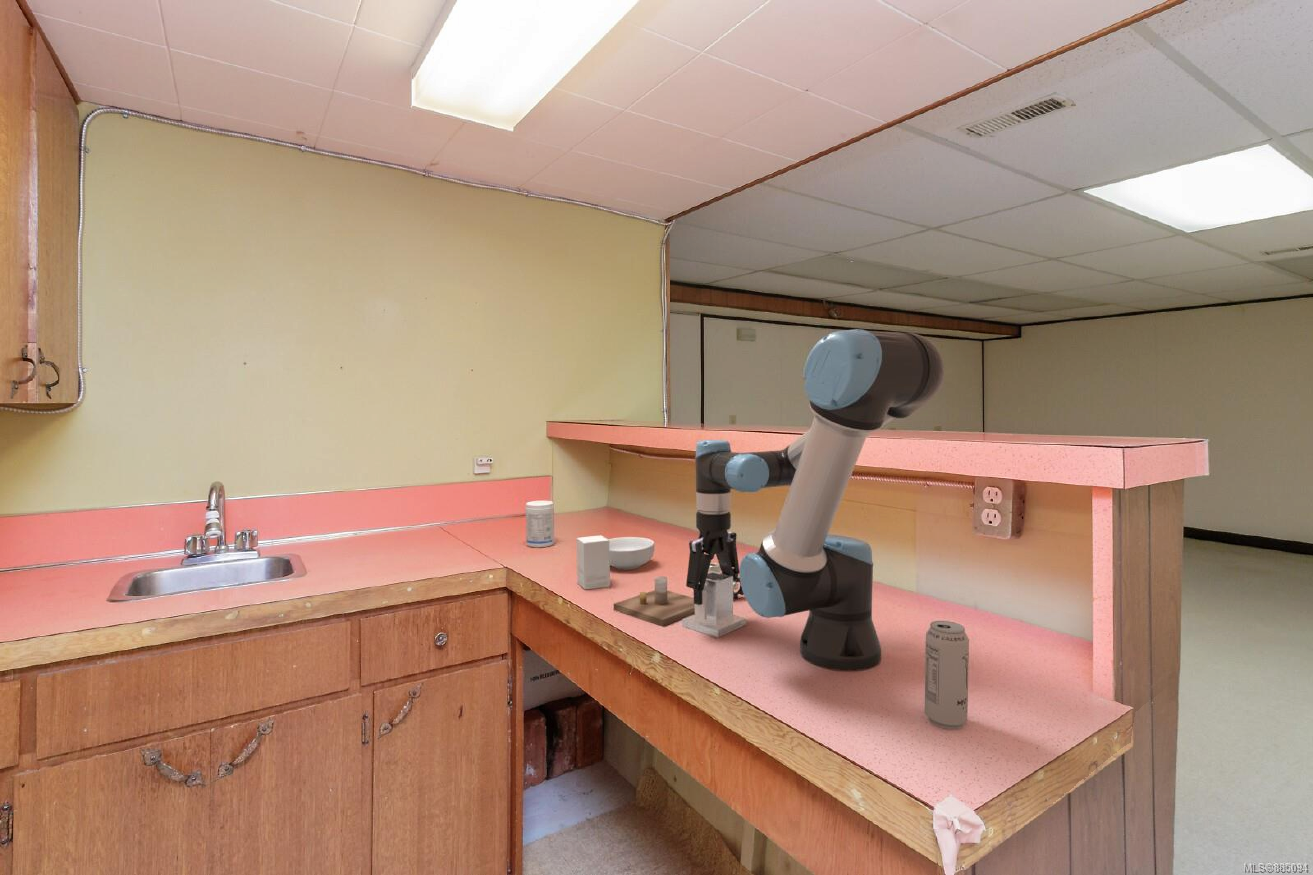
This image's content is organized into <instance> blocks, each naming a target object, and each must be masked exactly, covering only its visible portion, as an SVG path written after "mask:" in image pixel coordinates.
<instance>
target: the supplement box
mask: <svg viewBox="0 0 1313 875" xmlns="http://www.w3.org/2000/svg"><path fill="white" fill-rule="evenodd" d="M576 568H577V569H576V571H577V580H576V581H577V584H579V586H580V587H581V586H582V589H583V590H585V591H586V589H587V590H594V589H600V588H601V589H603V588H609V586H610V587H611V565H610V553H609V540H608V538H606V537H605V536H603V535H601V534H600V535H592V536H591V535H590V536H583V537H576Z"/></svg>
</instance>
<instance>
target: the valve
mask: <svg viewBox="0 0 1313 875" xmlns="http://www.w3.org/2000/svg"><path fill="white" fill-rule="evenodd" d="M710 571H714V572H718V573H721V572H722V571H721V568H720V565H719V562H711V563H710V567H709V570H708V572H710ZM736 576H737V579H736V580H733V600H738V599H739V595H741V596H744V594H743V591H742V587H741V583H740V577H739V574H738V575H736ZM739 584H740V585H739ZM735 591H736V592H735Z"/></svg>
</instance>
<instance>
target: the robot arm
mask: <svg viewBox="0 0 1313 875" xmlns="http://www.w3.org/2000/svg"><path fill="white" fill-rule="evenodd" d="M806 358H807V359H806V361H805V363H804V368H803V380H805V383H804V384H803V386H804V390H805V393H806V396H807V397H808V399H809V403H808V406H809V409H810V410H811V412H812V414H813V415H814V417H813V420H812V424H811V426H810V429H808V430H807V431H806V432H804V433H803V434H802V435H801V436H798V437H797V439H795V440H794V441H793V442H791V443H790V444H789V445H787V446H786V447H785V448H783V449H780V450H767V451H751V452H749V451H748V452H735V451H732V449H731V444H730V442H729V441H728V440H724V439H704V440H700V441H698V442H697V443H696V446H695V447H696V448H695V458H694V461H695V494H696V504H695V506H696V507H695V508H696V510H697V512H696V513H695V524H696V525H695V526H696V529H698V531H699V535H698V539H696V540H690V541H689V542H688V547H689V557H688V567H687V574H686V585H685V586H686V588H690V589H693V598H694V604H695V614H694V615H695V617H696V618H699V619H702V620H706V619H707V589H704V586H705V582H706V578H707V574H708V570H709V567H710V563H712V560H714V558H715V555H716V559H717V561H718V562H717V563H718V564H719V565H720V568H721V571H720V572H721V573H722V574H726V575H731V576H733V580H736V579H737V576H736V575H738V577H739V578H740V582H739V584H740V583H741V587H742V591H743V594H744V595H743V596H744V598H745V600H746V602H747V604H748V605H749V607H750V608H751V609H752V610H753V612H754V613H756V614H757V615H758V616H760V617H762V618H767V619H768V618H781V617H782V618H783V617H786V616H789V615H795V614H800V613H804V612H808V616H807V619H806V621H805V625H804V627H803V630H802V634H801V637H800V639H799V640H800V641H799V652H800V655H801V656H802V657H803V659H805V660H806V661H808V662H810V663H811V664H813V665H815V666H816V665H817V667H823V668H826V669H829V670H830V669H831V670H835V671H845V672H846V671H850V672H853V671H864V670H869V669H872V668H875V667H876V666H878V665H879V664H880V663H881V660H882V646H881V643H880V640H879V637H878V634H877V633H878V632H877V631H876V627H875V624H874V622H873V614H872V613H873V609H872V608H873V577H874V576H873V575H874V572H873V571H874V570H873V568H874V562H873V550H872V548H871V545H870V544H869V543H868V542H866V541H864V540H862V539H858V538H856V537H850V536H844V535H838V534H831V533H830V534H829V532H830V529H831V527H832V524H833V522H834V520H835V517H836V515H837V512H838V509H839V507H840V505H841V503H842V502H841V501H842V499H843V497H844V495H845V492H846V489H847V487H848V484H849V482H850V479H851V476H852V474H853V471H854V469H855V467H856V464H857V461H858V459H859V457H860V454H861V452H862V450H863V448H864V447H863V446H864V445H865V441H866V439H867V437H869V436H870V435H872V433H874V432H876V431H879V430H880V429H881V428H882V427H884V426H885V425H886V424H888V423H890V422H891V421H892V420H893V419H895V420H902V419H906V418H908V417H909V416H911V415H912V414H914V413H915V412H918V410H919V409H921V408H922V407H924V406H926V405H927V404H928V403H929V402H930V401H932V400H933V399H934V397H935V396H936V395H937V394H938V392H939V391H940V389H941V387H942V385H943V381H944V378H945V364H944V358H943V356H942V353H941V351H940V350H939V349H938V347H937V346H936V345H935V344H934V343H933V342H932V341H931V340H930V339H928V338H926V337H925V336H922V335H920V334H918V333H914V332H904V331H902V332H896V331H877V330H873V331H872V330H865V329H859V328H855V329H849V330H848V329H847V330H838V331H834V332H833V331H832V332H831V333H829V334H828V335H825V336H824V337H822V338H821V339H819V341H817V342H816V344H815V345H814V346H813V348H812V349H811V350H810V352H809V354H808V356H807V357H806ZM788 486H790V487H789V490H788V492H787V495H786V498H785V501H784V503H783V506H782V509H781V513H780V514H779V517H778V518H779V519H778V521H777V524H776V527H775V528H774V529H771V530H770V531H768V532H766V533H765V534H764V536H763V538H762V542H761V544H760V547H759V550H758V551H757V552H750V553H749V554H746V555H744V556H743V557H742V559H741V561H740V564H739V558H738V557H739V556H738V550H737V533H736V532H734V531H733V532H732V531H729V530H731V528H732V526H731V525H732V524H731V523H732V521H731V520H732V518H731V517H732V516H731V512H730V510H731V509H732V498H731V496H732V492H731V490H735V491H737V492H739V493H740V492H741V493H757V492H759V491H760V490H761V489H765V488H775V487H776V488H777V487H788ZM699 583H700V584H699Z"/></svg>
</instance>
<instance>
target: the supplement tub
mask: <svg viewBox="0 0 1313 875" xmlns="http://www.w3.org/2000/svg"><path fill="white" fill-rule="evenodd" d="M525 525H526V526H525V532H526V533H525V534H526V545H527V546H528V547H530V548H539V549H540V548H548V547H551V546H553V545H554V544H555V507H554V502H553V501H551V500H533V501H532V500H531V501H528V502H526V503H525Z"/></svg>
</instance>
